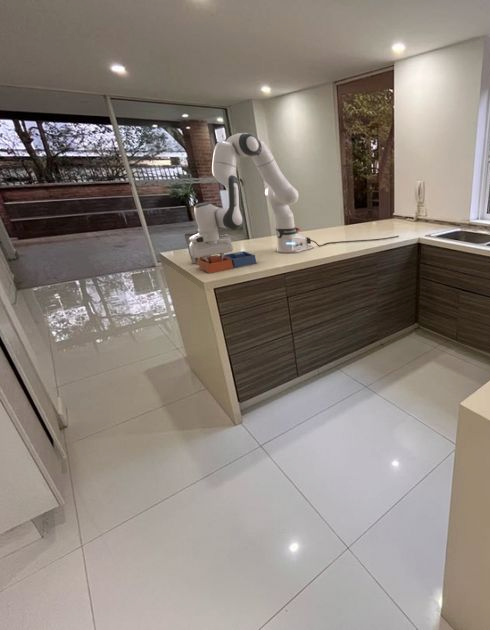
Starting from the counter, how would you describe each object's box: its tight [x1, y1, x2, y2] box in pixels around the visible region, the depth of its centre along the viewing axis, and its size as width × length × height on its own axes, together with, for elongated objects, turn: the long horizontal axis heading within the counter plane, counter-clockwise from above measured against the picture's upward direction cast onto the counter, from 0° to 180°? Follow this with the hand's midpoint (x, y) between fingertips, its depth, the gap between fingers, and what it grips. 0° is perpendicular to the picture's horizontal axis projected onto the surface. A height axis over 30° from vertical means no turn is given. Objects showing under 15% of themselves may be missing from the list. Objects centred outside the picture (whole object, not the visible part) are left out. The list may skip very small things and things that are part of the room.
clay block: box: [207, 254, 221, 263], centre depth 177 cm, size 5×5×5 cm
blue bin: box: [224, 250, 257, 269], centre depth 186 cm, size 12×13×5 cm
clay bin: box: [198, 254, 234, 274], centre depth 177 cm, size 12×13×5 cm
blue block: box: [231, 251, 245, 259], centre depth 186 cm, size 5×5×5 cm
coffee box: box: [184, 230, 212, 265], centre depth 187 cm, size 9×6×16 cm
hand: (215, 262), depth 177 cm, fingers closed on clay block, 5 cm apart
